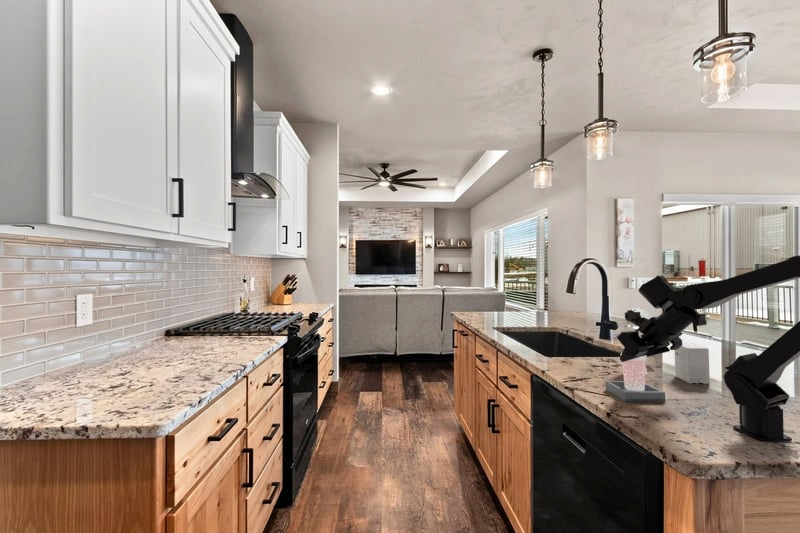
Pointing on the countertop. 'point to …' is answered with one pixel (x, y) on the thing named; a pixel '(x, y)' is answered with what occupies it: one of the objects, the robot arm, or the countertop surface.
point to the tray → (635, 393)
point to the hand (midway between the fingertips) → (628, 359)
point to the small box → (692, 363)
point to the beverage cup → (635, 373)
